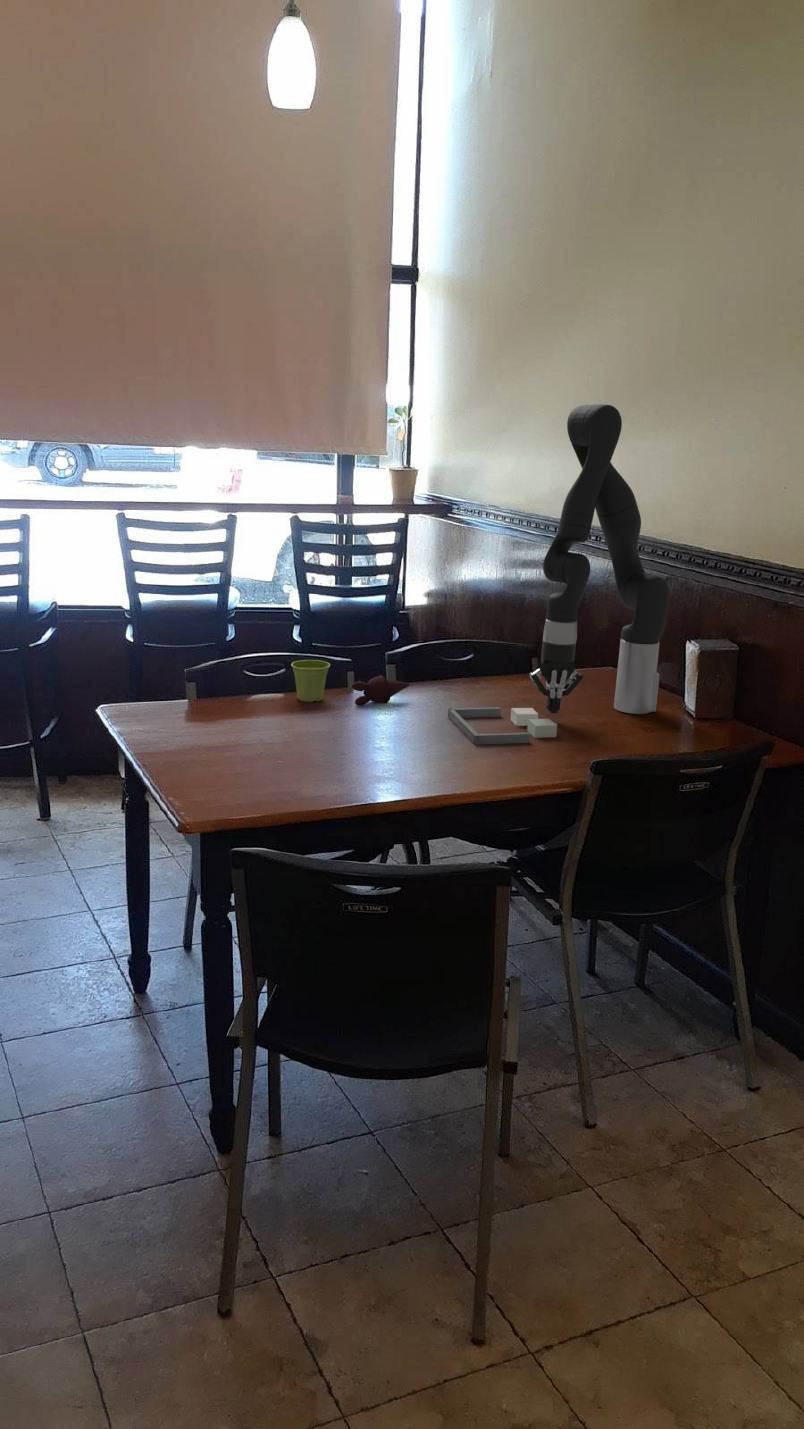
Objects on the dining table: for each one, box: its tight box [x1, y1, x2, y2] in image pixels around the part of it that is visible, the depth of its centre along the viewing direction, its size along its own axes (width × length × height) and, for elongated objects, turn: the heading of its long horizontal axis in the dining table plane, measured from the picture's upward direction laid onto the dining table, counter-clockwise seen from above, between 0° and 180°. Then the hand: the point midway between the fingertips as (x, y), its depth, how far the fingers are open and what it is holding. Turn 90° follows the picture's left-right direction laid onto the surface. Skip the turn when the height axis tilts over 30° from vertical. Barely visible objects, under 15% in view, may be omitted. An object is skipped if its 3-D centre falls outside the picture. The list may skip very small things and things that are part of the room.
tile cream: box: [510, 707, 539, 727], centre depth 257 cm, size 5×5×3 cm
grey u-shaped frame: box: [447, 706, 531, 746], centre depth 251 cm, size 12×21×2 cm, turn 14°
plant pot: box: [290, 659, 331, 703], centre depth 268 cm, size 9×9×9 cm
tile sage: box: [526, 718, 558, 739], centre depth 249 cm, size 5×5×3 cm
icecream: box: [351, 674, 410, 706], centre depth 268 cm, size 7×7×15 cm
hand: (552, 712), depth 259 cm, fingers closed
